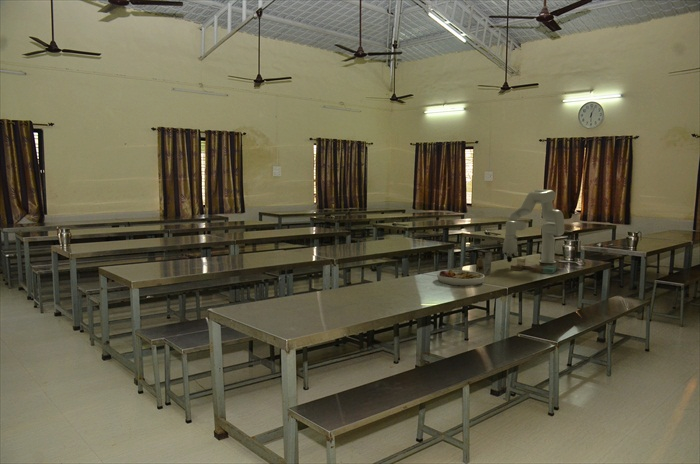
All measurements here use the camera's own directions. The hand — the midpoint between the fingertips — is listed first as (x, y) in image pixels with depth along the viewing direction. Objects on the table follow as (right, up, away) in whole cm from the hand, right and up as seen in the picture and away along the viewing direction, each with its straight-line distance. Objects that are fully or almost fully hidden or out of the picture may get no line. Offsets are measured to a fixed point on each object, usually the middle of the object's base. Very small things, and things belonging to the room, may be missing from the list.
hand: (509, 261), depth 396 cm
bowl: (-48, -10, -54) cm, 72 cm away
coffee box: (-25, -7, -23) cm, 35 cm away
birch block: (+7, -2, -4) cm, 9 cm away
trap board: (+15, -5, -8) cm, 18 cm away
